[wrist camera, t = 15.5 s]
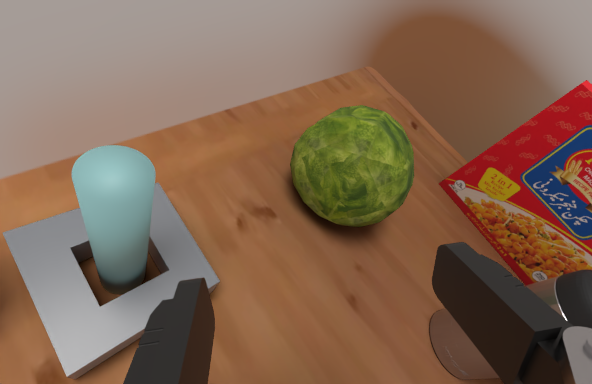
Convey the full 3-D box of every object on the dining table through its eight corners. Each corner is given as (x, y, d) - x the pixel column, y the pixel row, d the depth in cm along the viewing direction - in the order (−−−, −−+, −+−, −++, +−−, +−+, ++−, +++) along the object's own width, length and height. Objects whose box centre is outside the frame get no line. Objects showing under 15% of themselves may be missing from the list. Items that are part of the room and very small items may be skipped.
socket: (156, 200, 35) (158, 182, 32) (211, 291, 32) (219, 281, 29) (16, 250, 27) (2, 232, 24) (75, 379, 24) (67, 376, 21)
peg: (134, 249, 31) (136, 138, 18) (152, 280, 31) (168, 188, 17) (92, 267, 29) (58, 155, 16) (110, 302, 28) (90, 214, 15)
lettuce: (342, 177, 62) (425, 171, 54) (297, 241, 43) (414, 247, 36) (325, 97, 56) (418, 78, 48) (265, 133, 37) (399, 111, 29)
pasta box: (438, 183, 65) (581, 83, 44) (452, 174, 70) (586, 80, 49) (533, 294, 58) (756, 236, 37) (541, 274, 63) (741, 214, 42)
